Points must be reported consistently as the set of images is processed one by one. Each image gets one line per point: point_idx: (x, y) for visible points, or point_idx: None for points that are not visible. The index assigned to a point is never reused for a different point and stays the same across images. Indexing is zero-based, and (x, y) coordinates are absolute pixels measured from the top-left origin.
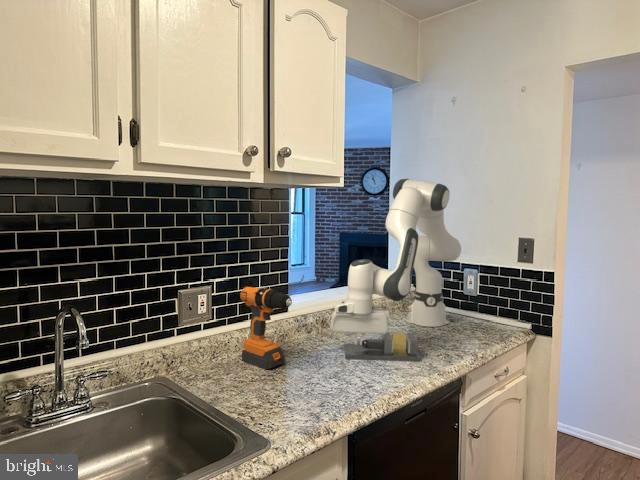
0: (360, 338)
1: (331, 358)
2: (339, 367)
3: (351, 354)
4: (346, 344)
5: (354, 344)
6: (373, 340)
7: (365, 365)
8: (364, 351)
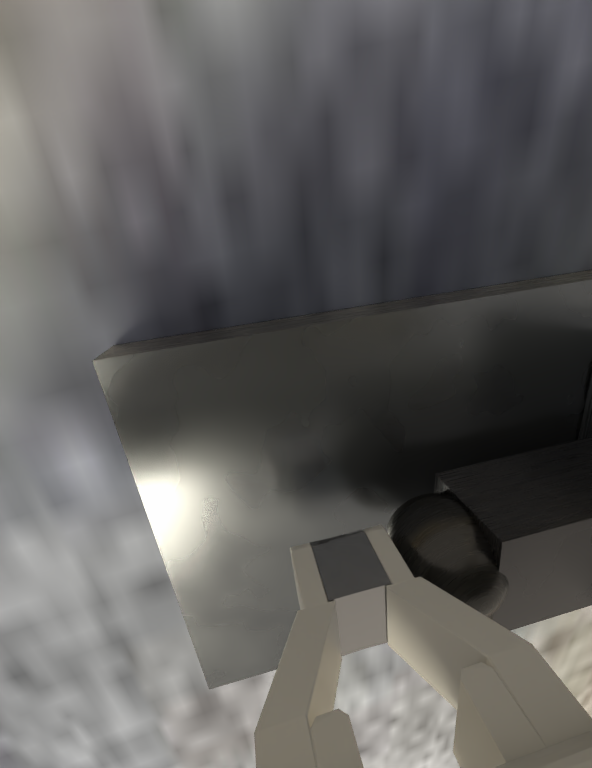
0: (401, 608)
1: (87, 677)
2: (209, 764)
3: (269, 664)
4: (134, 404)
5: (254, 368)
6: (577, 562)
7: (377, 676)
8: None
